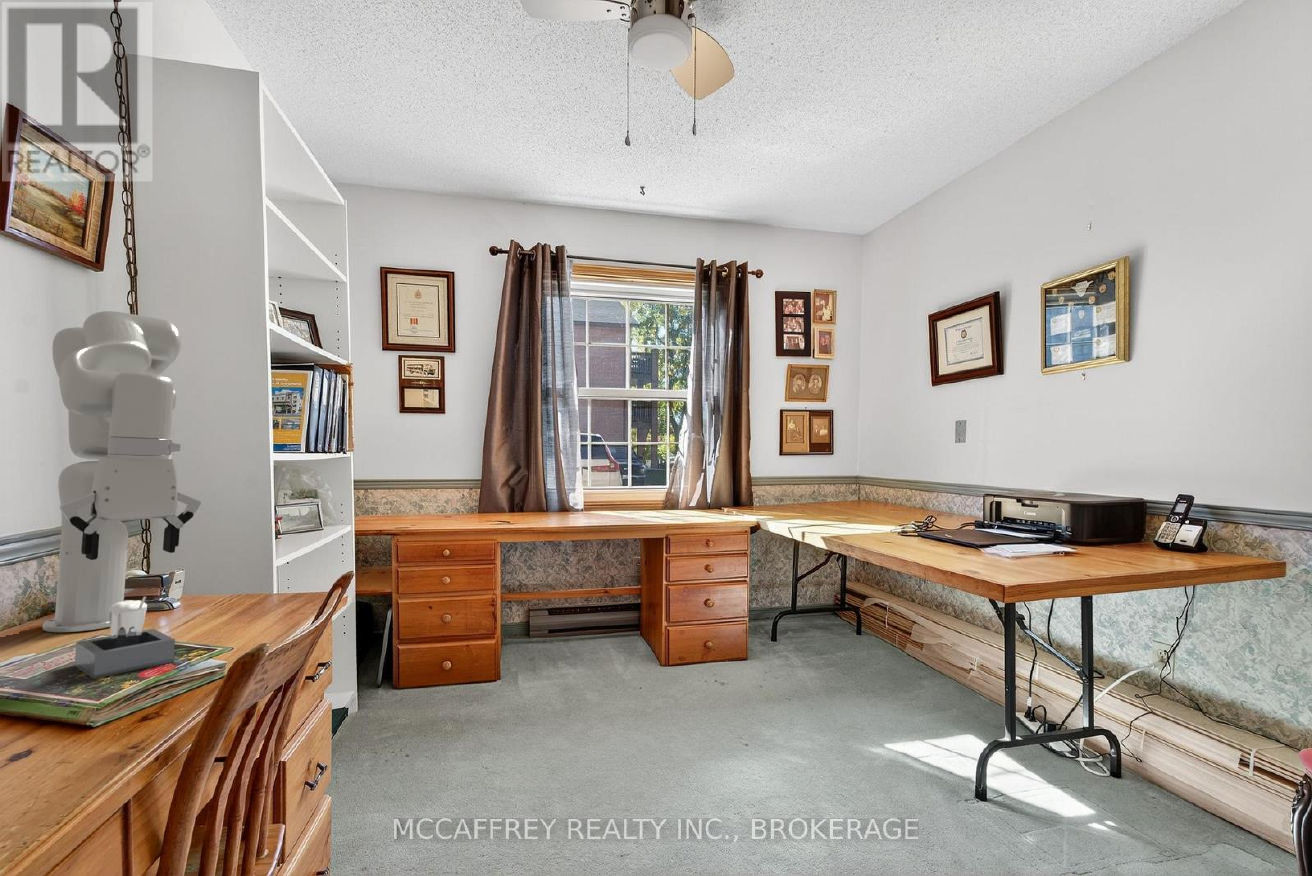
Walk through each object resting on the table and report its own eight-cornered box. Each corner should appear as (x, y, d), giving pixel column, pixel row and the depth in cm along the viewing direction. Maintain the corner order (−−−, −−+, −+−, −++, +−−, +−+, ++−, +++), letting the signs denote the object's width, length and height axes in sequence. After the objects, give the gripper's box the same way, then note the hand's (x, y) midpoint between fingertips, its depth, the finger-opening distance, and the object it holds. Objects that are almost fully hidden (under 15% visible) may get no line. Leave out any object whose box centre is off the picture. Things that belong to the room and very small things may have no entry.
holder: (74, 665, 92) (76, 642, 92) (151, 650, 100) (153, 628, 100) (93, 679, 87) (95, 654, 87) (173, 661, 95) (174, 639, 95)
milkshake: (124, 664, 91) (129, 599, 92) (97, 661, 92) (102, 597, 93) (154, 656, 95) (159, 594, 96) (128, 653, 96) (133, 591, 97)
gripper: (194, 450, 104) (187, 546, 104) (58, 446, 90) (49, 558, 89) (212, 451, 100) (205, 552, 100) (72, 448, 86) (63, 565, 85)
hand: (131, 555), depth 94 cm, fingers open, 9 cm apart
